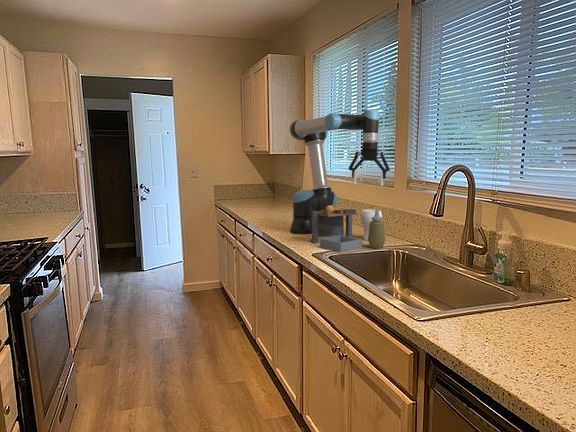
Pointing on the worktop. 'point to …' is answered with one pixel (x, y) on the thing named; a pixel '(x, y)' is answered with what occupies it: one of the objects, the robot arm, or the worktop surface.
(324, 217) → the tipping lever
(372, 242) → the squeeze bottle
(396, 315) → the worktop surface
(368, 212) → the cup
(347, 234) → the lever stand
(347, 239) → the tray
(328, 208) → the ball
